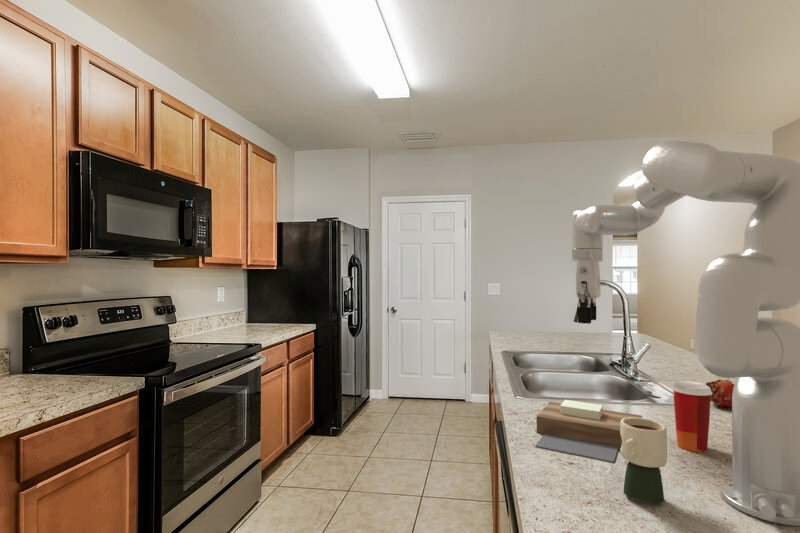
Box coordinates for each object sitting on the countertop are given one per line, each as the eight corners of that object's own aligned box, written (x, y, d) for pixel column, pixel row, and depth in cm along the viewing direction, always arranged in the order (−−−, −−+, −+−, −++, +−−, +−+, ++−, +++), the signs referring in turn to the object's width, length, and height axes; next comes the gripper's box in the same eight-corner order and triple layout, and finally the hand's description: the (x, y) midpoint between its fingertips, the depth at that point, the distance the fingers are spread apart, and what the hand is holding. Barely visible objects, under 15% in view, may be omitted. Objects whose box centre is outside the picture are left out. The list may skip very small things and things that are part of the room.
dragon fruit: (708, 414, 127) (729, 414, 133) (737, 403, 122) (757, 403, 127) (691, 386, 132) (712, 387, 138) (718, 374, 126) (738, 375, 132)
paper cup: (704, 442, 102) (704, 381, 102) (719, 456, 95) (718, 390, 95) (666, 439, 104) (666, 379, 105) (677, 452, 97) (677, 387, 97)
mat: (613, 462, 92) (613, 461, 92) (535, 446, 100) (535, 445, 100) (618, 448, 99) (618, 446, 99) (545, 434, 108) (545, 433, 108)
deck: (638, 451, 97) (638, 433, 97) (536, 432, 109) (536, 416, 109) (642, 431, 109) (642, 415, 109) (550, 416, 121) (550, 401, 121)
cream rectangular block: (599, 420, 106) (599, 411, 106) (560, 413, 111) (560, 405, 111) (602, 413, 111) (602, 405, 111) (565, 407, 116) (565, 399, 116)
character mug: (638, 481, 83) (638, 412, 84) (679, 497, 78) (679, 423, 78) (606, 499, 77) (606, 424, 77) (649, 517, 71) (648, 436, 71)
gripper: (597, 254, 109) (597, 326, 109) (606, 256, 124) (606, 319, 124) (565, 255, 113) (565, 324, 113) (578, 256, 128) (578, 317, 128)
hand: (587, 321), depth 119 cm, fingers open, 8 cm apart
